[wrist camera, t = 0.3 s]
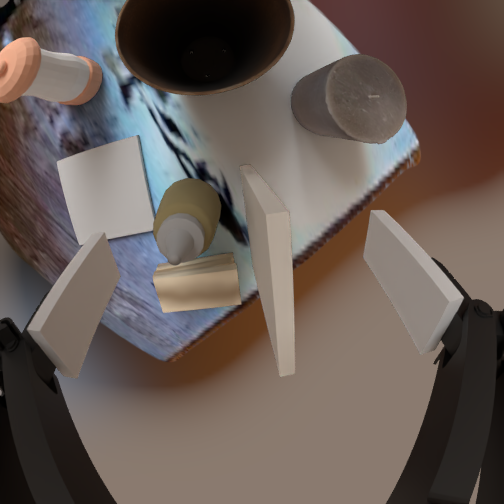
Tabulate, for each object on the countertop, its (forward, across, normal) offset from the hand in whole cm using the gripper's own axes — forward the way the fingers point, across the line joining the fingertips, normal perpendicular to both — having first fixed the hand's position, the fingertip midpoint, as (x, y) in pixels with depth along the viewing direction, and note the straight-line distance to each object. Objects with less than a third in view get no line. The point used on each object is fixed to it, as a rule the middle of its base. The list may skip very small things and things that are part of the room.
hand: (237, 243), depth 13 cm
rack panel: (+25, +2, -11) cm, 28 cm away
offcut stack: (+24, -8, -19) cm, 32 cm away
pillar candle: (+28, +13, +5) cm, 31 cm away
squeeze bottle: (+25, -7, -7) cm, 27 cm away
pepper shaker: (+27, -22, +14) cm, 37 cm away
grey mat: (+25, -20, -4) cm, 32 cm away
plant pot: (+28, -3, +13) cm, 31 cm away
